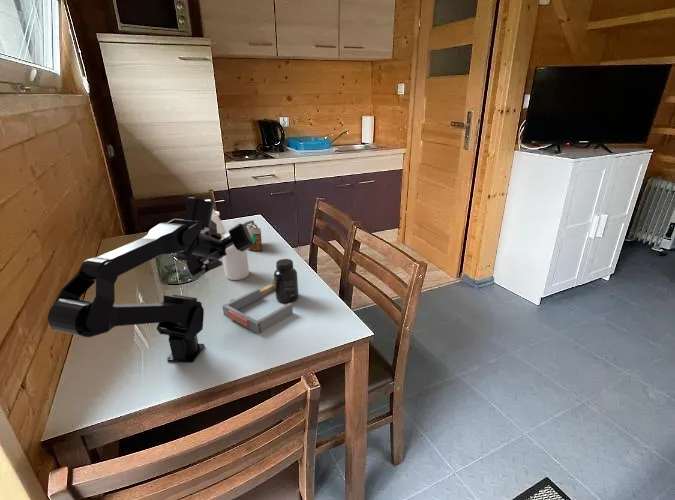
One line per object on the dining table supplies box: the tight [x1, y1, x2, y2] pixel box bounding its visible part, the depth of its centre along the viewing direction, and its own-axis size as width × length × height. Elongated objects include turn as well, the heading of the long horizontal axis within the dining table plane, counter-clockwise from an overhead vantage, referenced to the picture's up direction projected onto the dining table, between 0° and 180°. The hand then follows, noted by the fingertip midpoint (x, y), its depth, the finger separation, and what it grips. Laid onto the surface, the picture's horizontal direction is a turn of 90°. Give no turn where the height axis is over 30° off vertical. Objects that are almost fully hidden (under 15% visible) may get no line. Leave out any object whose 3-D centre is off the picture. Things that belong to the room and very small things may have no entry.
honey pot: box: [204, 199, 226, 240], centre depth 158 cm, size 13×13×18 cm
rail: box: [229, 278, 275, 302], centre depth 114 cm, size 18×2×2 cm, turn 140°
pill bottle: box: [222, 232, 250, 281], centre depth 126 cm, size 8×8×15 cm
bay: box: [222, 287, 294, 334], centre depth 105 cm, size 13×15×3 cm
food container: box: [242, 219, 263, 253], centre depth 150 cm, size 12×6×10 cm, turn 25°
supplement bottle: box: [273, 258, 300, 304], centre depth 111 cm, size 7×7×12 cm
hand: (235, 255), depth 106 cm, fingers open, 9 cm apart
